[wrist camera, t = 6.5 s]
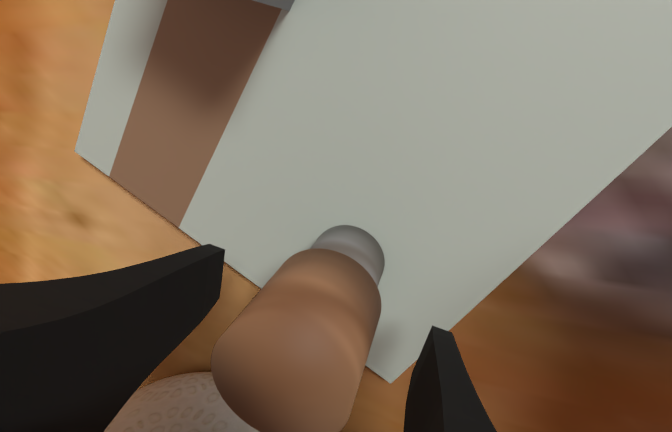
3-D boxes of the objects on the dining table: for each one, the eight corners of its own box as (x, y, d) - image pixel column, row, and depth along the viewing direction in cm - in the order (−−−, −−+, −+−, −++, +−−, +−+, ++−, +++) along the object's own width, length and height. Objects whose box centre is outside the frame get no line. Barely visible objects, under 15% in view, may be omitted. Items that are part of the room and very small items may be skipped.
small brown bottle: (414, 254, 15) (383, 391, 9) (360, 314, 17) (303, 465, 11) (334, 196, 15) (248, 293, 9) (289, 262, 17) (190, 381, 11)
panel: (939, -135, 9) (970, -147, 8) (392, 374, 18) (390, 383, 18) (292, -578, 9) (281, -618, 9) (85, 148, 19) (74, 151, 18)
